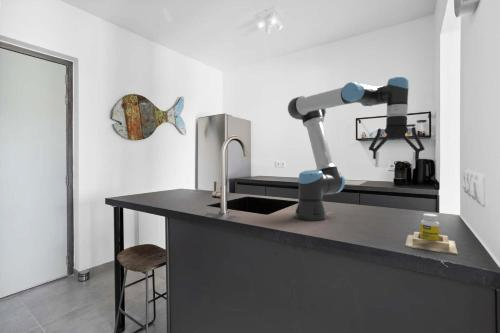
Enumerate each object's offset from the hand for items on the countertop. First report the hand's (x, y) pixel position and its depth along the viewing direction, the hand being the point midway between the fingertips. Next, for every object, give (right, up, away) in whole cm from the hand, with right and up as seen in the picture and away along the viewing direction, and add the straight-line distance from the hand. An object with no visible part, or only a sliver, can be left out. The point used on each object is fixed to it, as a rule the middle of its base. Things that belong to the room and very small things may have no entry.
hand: (394, 167), depth 112 cm
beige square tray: (+2, -26, -19) cm, 33 cm away
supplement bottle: (+2, -26, -19) cm, 32 cm away
